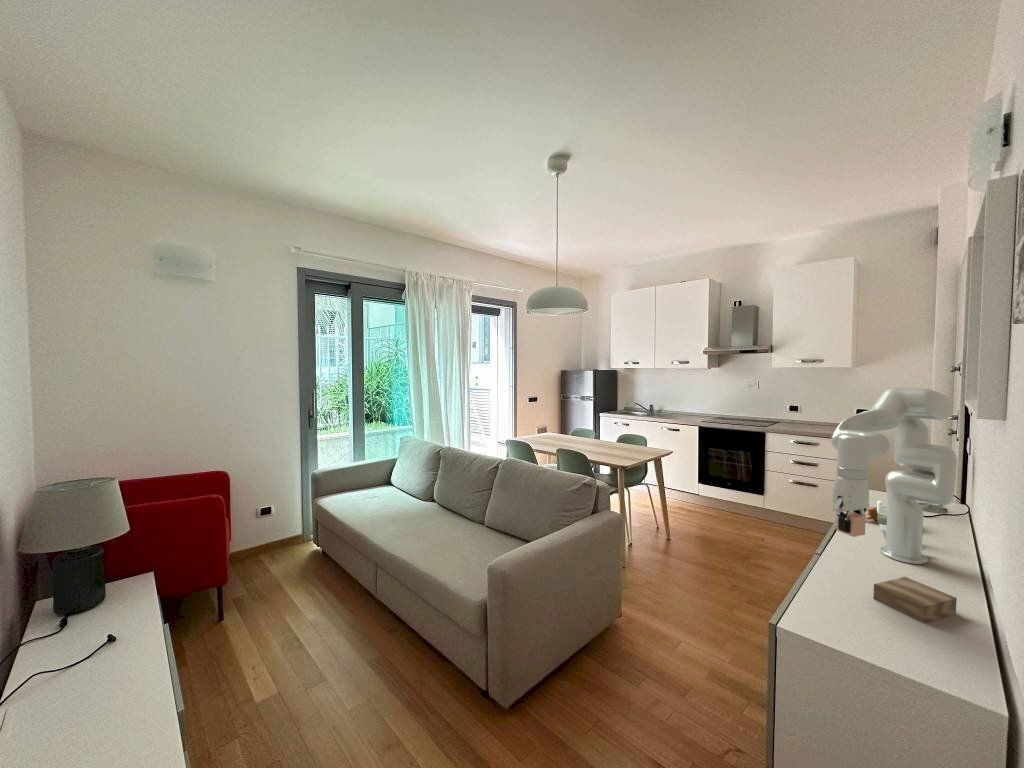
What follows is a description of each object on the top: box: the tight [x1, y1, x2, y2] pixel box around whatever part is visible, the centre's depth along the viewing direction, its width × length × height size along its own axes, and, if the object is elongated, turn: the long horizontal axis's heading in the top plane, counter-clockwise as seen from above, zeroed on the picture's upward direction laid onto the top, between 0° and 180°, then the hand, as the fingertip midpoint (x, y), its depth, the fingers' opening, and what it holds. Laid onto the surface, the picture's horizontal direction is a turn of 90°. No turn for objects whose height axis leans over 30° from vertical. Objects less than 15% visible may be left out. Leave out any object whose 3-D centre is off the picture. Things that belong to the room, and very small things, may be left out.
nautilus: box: [865, 506, 887, 525], centre depth 180 cm, size 8×22×15 cm
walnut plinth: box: [873, 576, 958, 624], centre depth 119 cm, size 14×12×5 cm
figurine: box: [876, 500, 887, 539], centre depth 164 cm, size 7×9×15 cm
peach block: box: [836, 511, 867, 538], centre depth 128 cm, size 5×5×6 cm
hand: (850, 529), depth 128 cm, fingers closed on peach block, 5 cm apart
